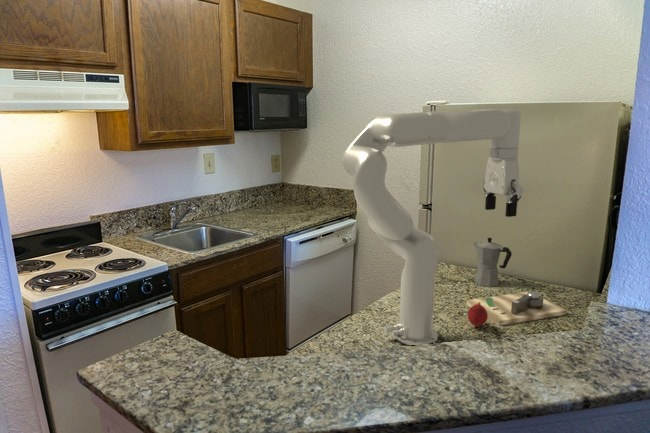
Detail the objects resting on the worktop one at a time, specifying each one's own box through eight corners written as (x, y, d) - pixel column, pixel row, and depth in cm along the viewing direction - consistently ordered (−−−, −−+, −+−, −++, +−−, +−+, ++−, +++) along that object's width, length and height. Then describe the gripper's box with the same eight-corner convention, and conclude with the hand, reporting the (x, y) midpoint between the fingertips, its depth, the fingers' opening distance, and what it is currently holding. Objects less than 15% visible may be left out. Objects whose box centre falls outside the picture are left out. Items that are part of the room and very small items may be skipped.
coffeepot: (464, 281, 181) (467, 236, 177) (477, 275, 187) (480, 232, 183) (502, 292, 170) (506, 244, 166) (514, 285, 176) (518, 240, 172)
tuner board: (499, 325, 143) (499, 320, 143) (466, 304, 159) (466, 299, 158) (566, 314, 151) (566, 309, 150) (528, 295, 167) (529, 290, 166)
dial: (528, 299, 158) (529, 288, 158) (546, 305, 154) (547, 293, 153) (504, 310, 150) (505, 298, 149) (522, 317, 145) (524, 304, 144)
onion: (487, 331, 139) (489, 306, 137) (467, 330, 140) (469, 305, 138) (485, 323, 144) (487, 299, 143) (466, 321, 146) (467, 297, 144)
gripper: (474, 152, 139) (472, 208, 143) (511, 157, 123) (507, 220, 127) (496, 151, 141) (493, 206, 145) (536, 156, 125) (531, 218, 129)
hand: (500, 212), depth 136 cm, fingers open, 9 cm apart
